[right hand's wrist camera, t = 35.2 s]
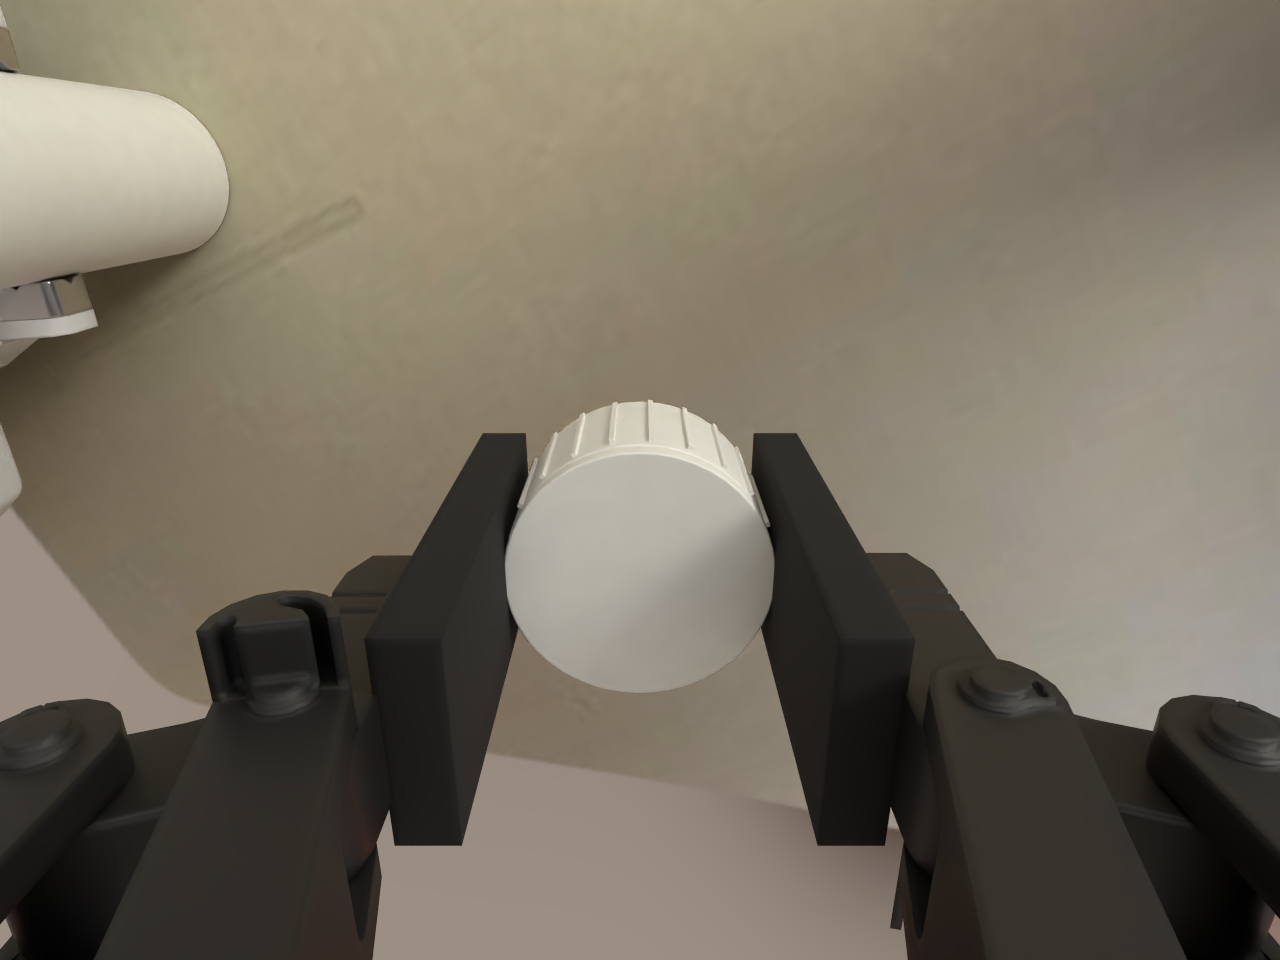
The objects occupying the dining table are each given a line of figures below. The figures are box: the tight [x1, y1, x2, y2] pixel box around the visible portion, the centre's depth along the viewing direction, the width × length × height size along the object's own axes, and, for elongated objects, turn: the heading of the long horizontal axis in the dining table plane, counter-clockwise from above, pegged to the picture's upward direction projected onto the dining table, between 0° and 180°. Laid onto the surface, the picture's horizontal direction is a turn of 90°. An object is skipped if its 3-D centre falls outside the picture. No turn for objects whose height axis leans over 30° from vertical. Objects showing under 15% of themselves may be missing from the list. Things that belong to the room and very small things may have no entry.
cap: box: [505, 400, 775, 693], centre depth 13 cm, size 4×4×3 cm
